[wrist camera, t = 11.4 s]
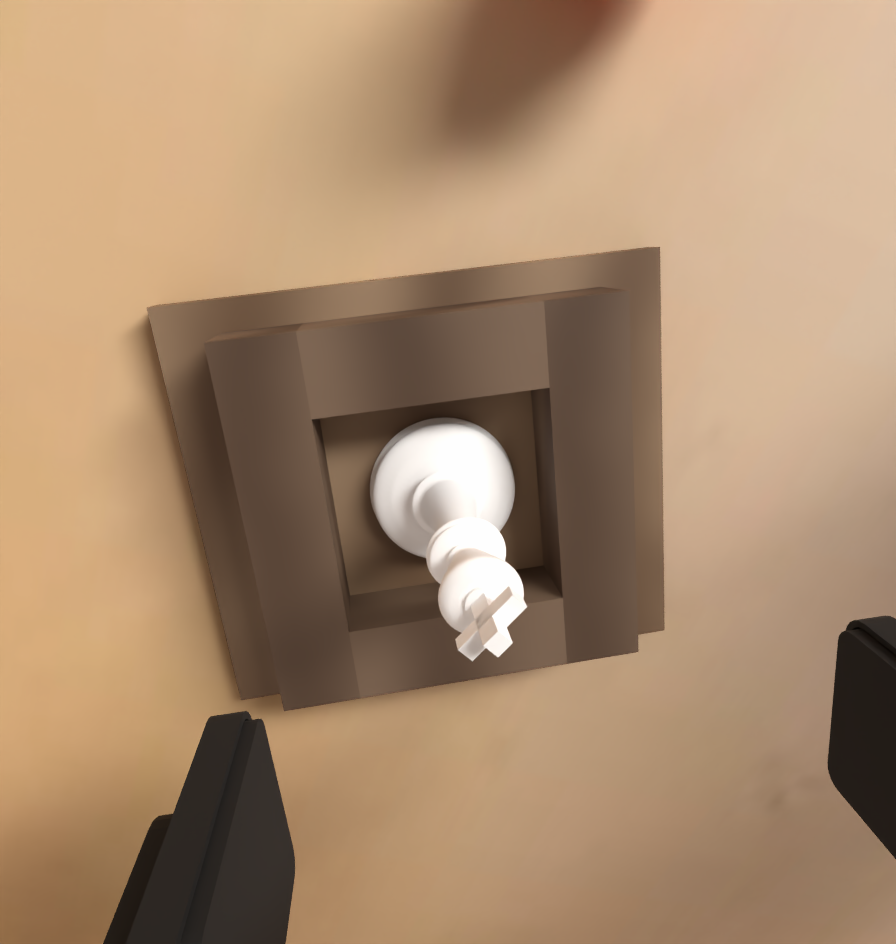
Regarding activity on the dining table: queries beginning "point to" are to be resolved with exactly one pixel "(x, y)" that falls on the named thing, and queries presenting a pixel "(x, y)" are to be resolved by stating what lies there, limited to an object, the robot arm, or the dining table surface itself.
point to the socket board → (382, 417)
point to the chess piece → (454, 523)
